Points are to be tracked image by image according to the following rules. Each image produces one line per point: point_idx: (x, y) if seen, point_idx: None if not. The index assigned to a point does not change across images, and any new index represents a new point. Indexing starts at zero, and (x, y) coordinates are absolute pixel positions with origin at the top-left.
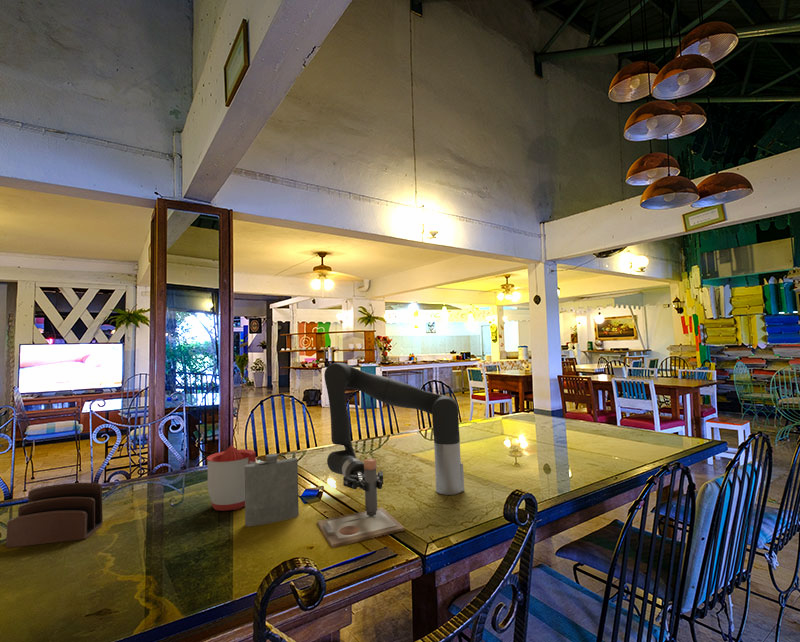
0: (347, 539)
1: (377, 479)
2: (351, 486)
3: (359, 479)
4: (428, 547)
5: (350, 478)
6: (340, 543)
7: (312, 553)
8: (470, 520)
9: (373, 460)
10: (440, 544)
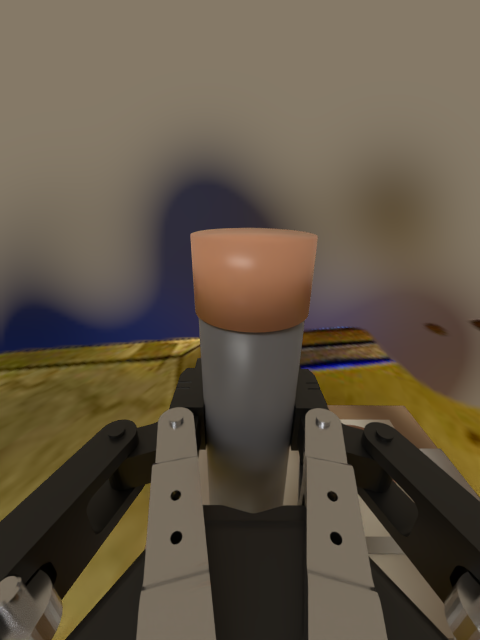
0: (360, 411)
1: (195, 389)
2: (410, 504)
3: (338, 440)
4: (191, 347)
5: (459, 519)
6: (379, 407)
7: (452, 410)
8: (3, 387)
9: (228, 231)
10: (165, 347)
